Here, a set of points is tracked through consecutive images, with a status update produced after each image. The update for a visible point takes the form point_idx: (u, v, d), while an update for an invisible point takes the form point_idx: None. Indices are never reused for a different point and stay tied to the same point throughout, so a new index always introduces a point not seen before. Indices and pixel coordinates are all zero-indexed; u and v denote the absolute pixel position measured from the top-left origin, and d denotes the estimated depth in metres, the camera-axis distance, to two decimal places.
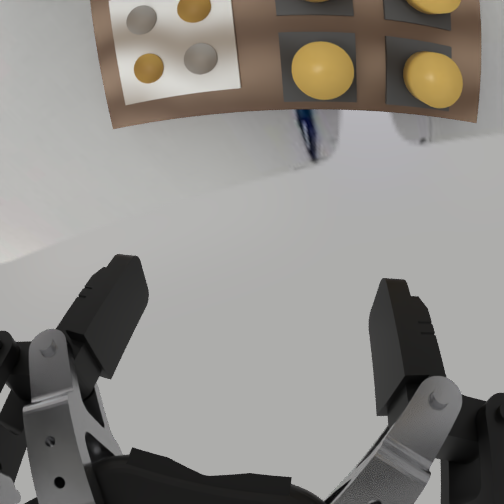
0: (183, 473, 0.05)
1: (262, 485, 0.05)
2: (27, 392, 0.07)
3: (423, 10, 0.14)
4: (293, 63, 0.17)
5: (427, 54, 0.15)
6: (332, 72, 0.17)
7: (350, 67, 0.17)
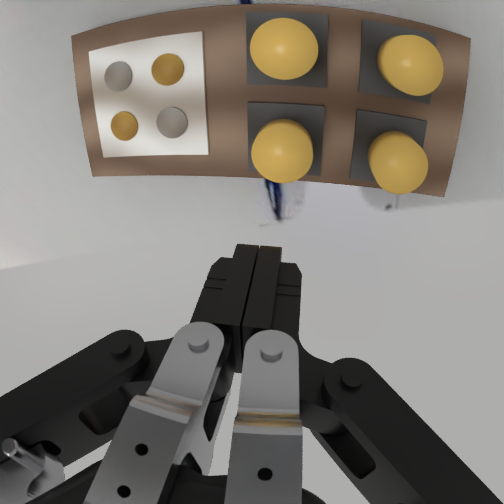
0: (182, 473, 0.05)
1: None
2: None
3: None
4: (253, 146, 0.20)
5: (393, 140, 0.18)
6: (291, 157, 0.20)
7: (309, 153, 0.20)
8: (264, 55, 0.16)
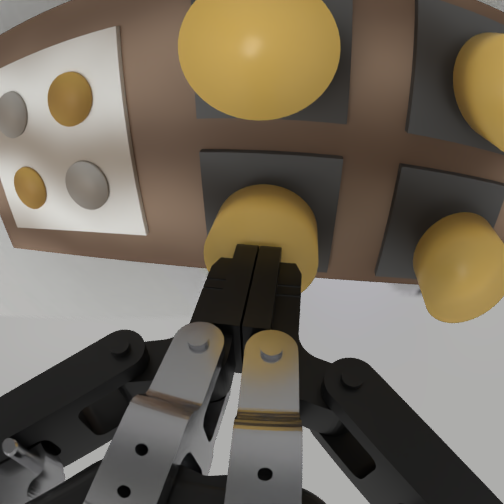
0: (183, 473, 0.05)
1: None
2: None
3: (489, 141, 0.08)
4: (206, 246, 0.11)
5: (470, 245, 0.09)
6: None
7: (312, 260, 0.11)
8: (211, 64, 0.07)
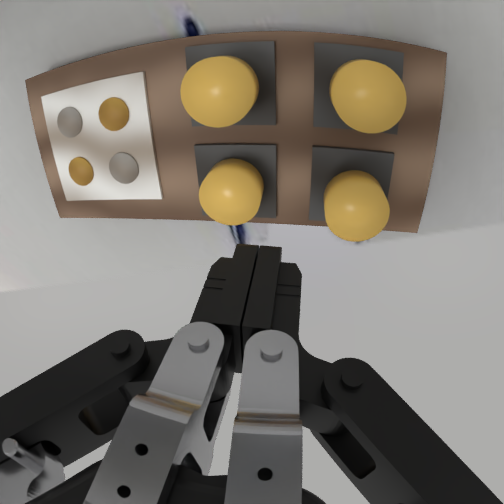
0: (183, 472, 0.05)
1: None
2: None
3: None
4: (200, 191, 0.20)
5: (346, 185, 0.18)
6: (238, 200, 0.20)
7: (256, 195, 0.20)
8: (196, 102, 0.16)
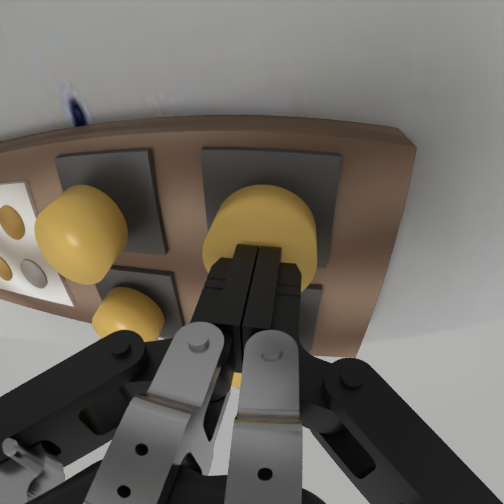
0: (182, 473, 0.05)
1: None
2: None
3: None
4: (93, 324, 0.17)
5: None
6: None
7: (147, 338, 0.17)
8: (53, 255, 0.12)
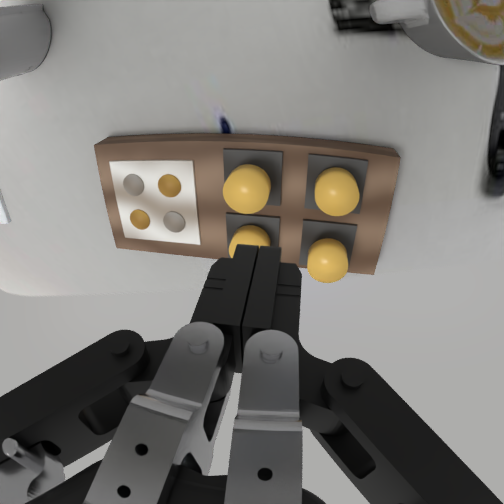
0: (183, 473, 0.05)
1: None
2: None
3: None
4: (230, 246, 0.33)
5: (321, 250, 0.30)
6: None
7: None
8: (232, 197, 0.28)
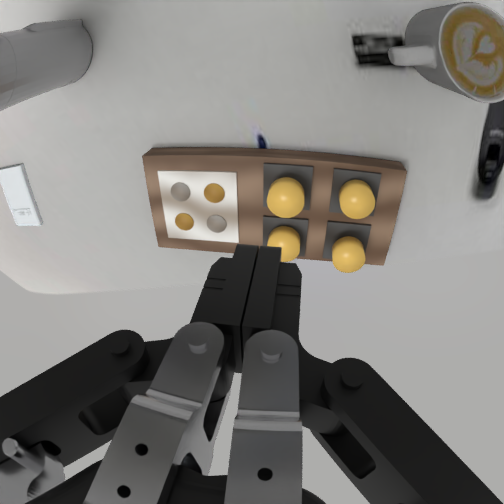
0: (183, 473, 0.05)
1: None
2: None
3: None
4: (268, 244, 0.39)
5: (344, 246, 0.36)
6: (288, 250, 0.39)
7: (298, 248, 0.39)
8: (274, 204, 0.34)
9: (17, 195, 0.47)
